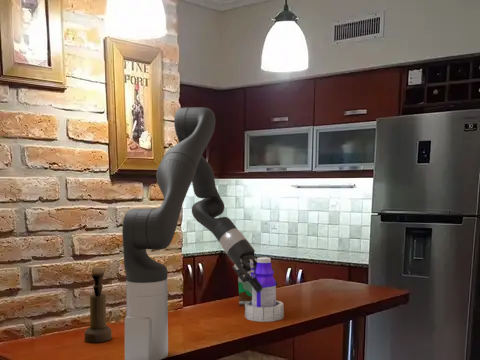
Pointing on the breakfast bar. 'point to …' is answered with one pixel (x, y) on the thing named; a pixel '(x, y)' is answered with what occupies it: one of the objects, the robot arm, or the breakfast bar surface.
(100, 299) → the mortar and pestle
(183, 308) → the breakfast bar surface
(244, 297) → the food container
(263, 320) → the ring holder
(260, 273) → the bottle
